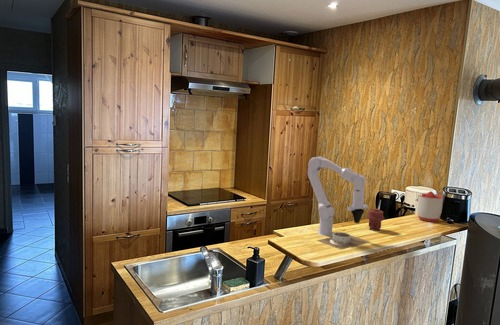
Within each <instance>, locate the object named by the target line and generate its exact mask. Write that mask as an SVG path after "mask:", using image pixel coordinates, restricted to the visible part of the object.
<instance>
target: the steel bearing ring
mask: <svg viewBox="0 0 500 325" xmlns="http://www.w3.org/2000/svg"><path fill="white" fill-rule="evenodd" d="M332 233H333V235H332V236H331V237H332V242H333V243H335V244H339V245H349V244H350V241H351V236H352V235H351V234H350V233H348V232H343V231H341V232H340V231H335V232H332Z"/></svg>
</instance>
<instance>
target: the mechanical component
mask: <svg viewBox="0 0 500 325" xmlns="http://www.w3.org/2000/svg"><path fill="white" fill-rule="evenodd" d="M366 219H367V220H368V227H369V230H371V231H378V232H379V231H380V230H381V229H382V221H384V220H385V216H384V211H382V210H380V209H379V208H372V209H369V210H368V214H367V215H366Z"/></svg>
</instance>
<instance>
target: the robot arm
mask: <svg viewBox="0 0 500 325" xmlns="http://www.w3.org/2000/svg"><path fill="white" fill-rule="evenodd" d="M307 167H308V168H307V177H308V179H309V182H310V185H311V188H312V190H313V192H314V195H315V197H316V201H317V204H318V207H317V209H318V216H319V227H318V228H319V229H318V230H317V234H318V235H319V236H327V237H333V233H334V232H333V225H334V218H333V216H335V213H336V212H335V209H334V207H333V206H332V205H331V202H329V200H328V198H327V196H326V192H325V190H324V187H323V185H322V183H321V180H320V178H319V172H320V170H321V169H322V168H327V169H330V170H332V171H334V172H336V173H338V174H339V175H340V177H341V178H342V179H344V180H345V181H348V182H350V184H351V183H352V184H353V189H352V190H353V192H352V204H351V205H349V206H347V207H346V208H347V209H346V210H347V211H349V212H351V214H352V217H353V222H354V224H359V223H360V221H361V219H362V216H363V215H364V213H365V210H364V209H366V210H367V209H369V205H368V204H364V203H365V190H366V189H365V188H366V186H365V185H366V183H367V178H366V176H364V175H363V174H360V173H358V172H355V171H353V170H352V168H350V167H346V168H345V167H344V168H343V167H341V166H340V165H338V164H336V163H334V162H333V161H331V160H330V159H328V158H325V157H323V156H314V157H311V158H310V159H309V161H308V164H307Z"/></svg>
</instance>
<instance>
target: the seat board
mask: <svg viewBox="0 0 500 325" xmlns="http://www.w3.org/2000/svg"><path fill="white" fill-rule="evenodd" d="M332 237H333V236H330V237H327V238H321V239H318V240H317V241H316V242H320V243H322V244H325V245H328V246H330V247H333V248H335V249H338V250H345V249H348V248H353V247H357V246H361V245H364V244H369V243H370V240H365V239H364V238H359V237H357V236H354V235H351V241H350V244H349V245H339V244H335V243H333V242H332Z"/></svg>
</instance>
